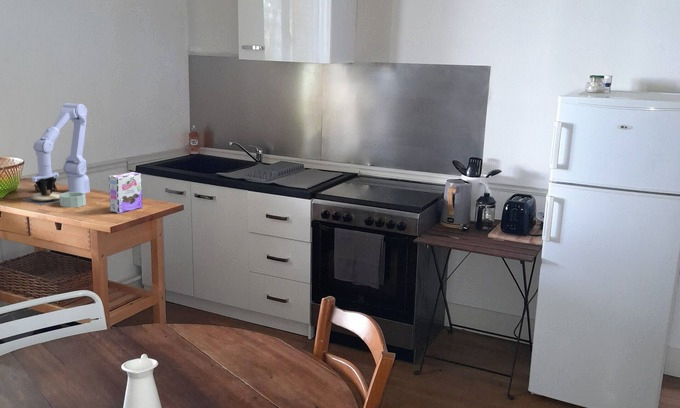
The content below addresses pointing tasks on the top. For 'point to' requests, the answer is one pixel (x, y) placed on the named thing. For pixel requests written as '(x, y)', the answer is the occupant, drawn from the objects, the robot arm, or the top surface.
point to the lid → (45, 196)
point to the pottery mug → (39, 189)
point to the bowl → (72, 199)
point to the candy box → (125, 192)
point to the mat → (41, 201)
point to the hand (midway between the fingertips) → (46, 194)
